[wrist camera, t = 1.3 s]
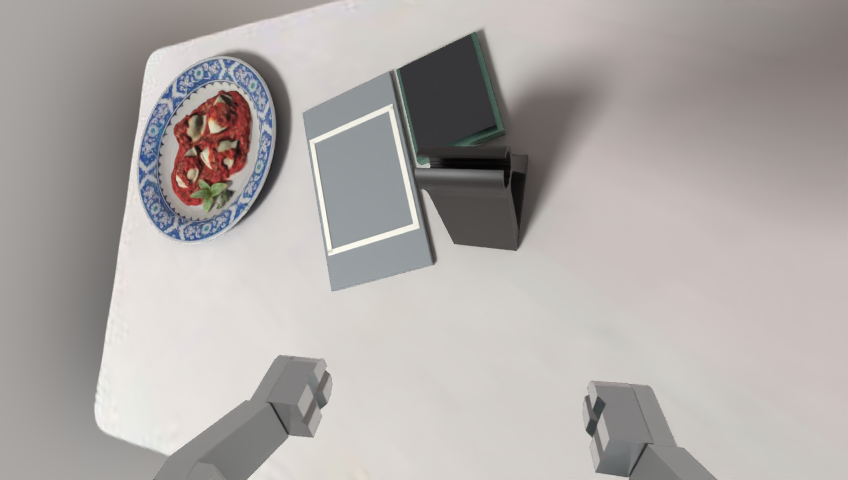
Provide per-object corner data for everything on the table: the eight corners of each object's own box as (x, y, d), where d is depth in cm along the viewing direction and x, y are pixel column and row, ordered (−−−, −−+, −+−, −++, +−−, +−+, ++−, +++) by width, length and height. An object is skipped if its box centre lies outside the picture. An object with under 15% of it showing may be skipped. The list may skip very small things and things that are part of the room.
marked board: (391, 74, 39) (388, 71, 38) (434, 264, 35) (431, 264, 34) (305, 115, 43) (301, 112, 42) (334, 291, 39) (331, 291, 38)
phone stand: (466, 155, 35) (424, 96, 24) (528, 156, 33) (513, 92, 22) (454, 244, 34) (405, 226, 23) (517, 251, 32) (495, 235, 21)
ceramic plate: (158, 89, 55) (136, 78, 52) (288, 42, 46) (271, 27, 43) (147, 252, 51) (124, 250, 49) (286, 236, 42) (267, 233, 40)
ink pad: (477, 38, 36) (474, 27, 34) (505, 134, 34) (502, 127, 32) (400, 74, 39) (393, 66, 37) (421, 165, 37) (415, 160, 35)
